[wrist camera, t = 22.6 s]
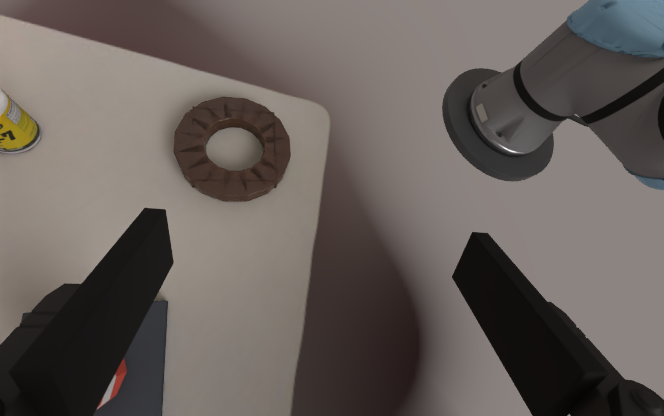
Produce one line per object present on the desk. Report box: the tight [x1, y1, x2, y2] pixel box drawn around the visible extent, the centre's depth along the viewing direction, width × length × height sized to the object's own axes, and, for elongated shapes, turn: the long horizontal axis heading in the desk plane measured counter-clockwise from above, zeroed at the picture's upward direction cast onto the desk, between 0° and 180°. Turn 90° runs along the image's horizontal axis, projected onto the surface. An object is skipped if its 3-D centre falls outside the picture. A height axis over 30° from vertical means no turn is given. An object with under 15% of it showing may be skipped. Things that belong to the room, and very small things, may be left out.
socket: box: [174, 97, 291, 201], centre depth 40 cm, size 14×14×2 cm
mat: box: [22, 301, 168, 416], centre depth 29 cm, size 12×12×1 cm
